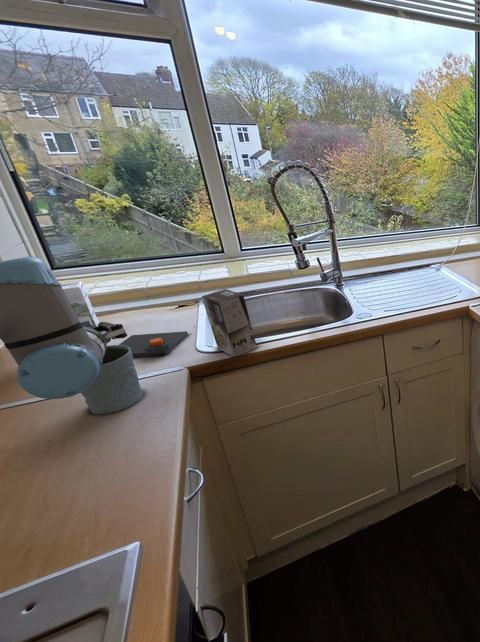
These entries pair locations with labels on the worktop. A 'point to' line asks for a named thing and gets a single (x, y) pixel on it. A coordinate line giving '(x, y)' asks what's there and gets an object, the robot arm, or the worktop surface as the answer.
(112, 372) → the grey-green plant pot
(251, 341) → the coffee box
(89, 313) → the syrup box
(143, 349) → the scale
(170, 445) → the worktop surface
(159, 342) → the tare button
